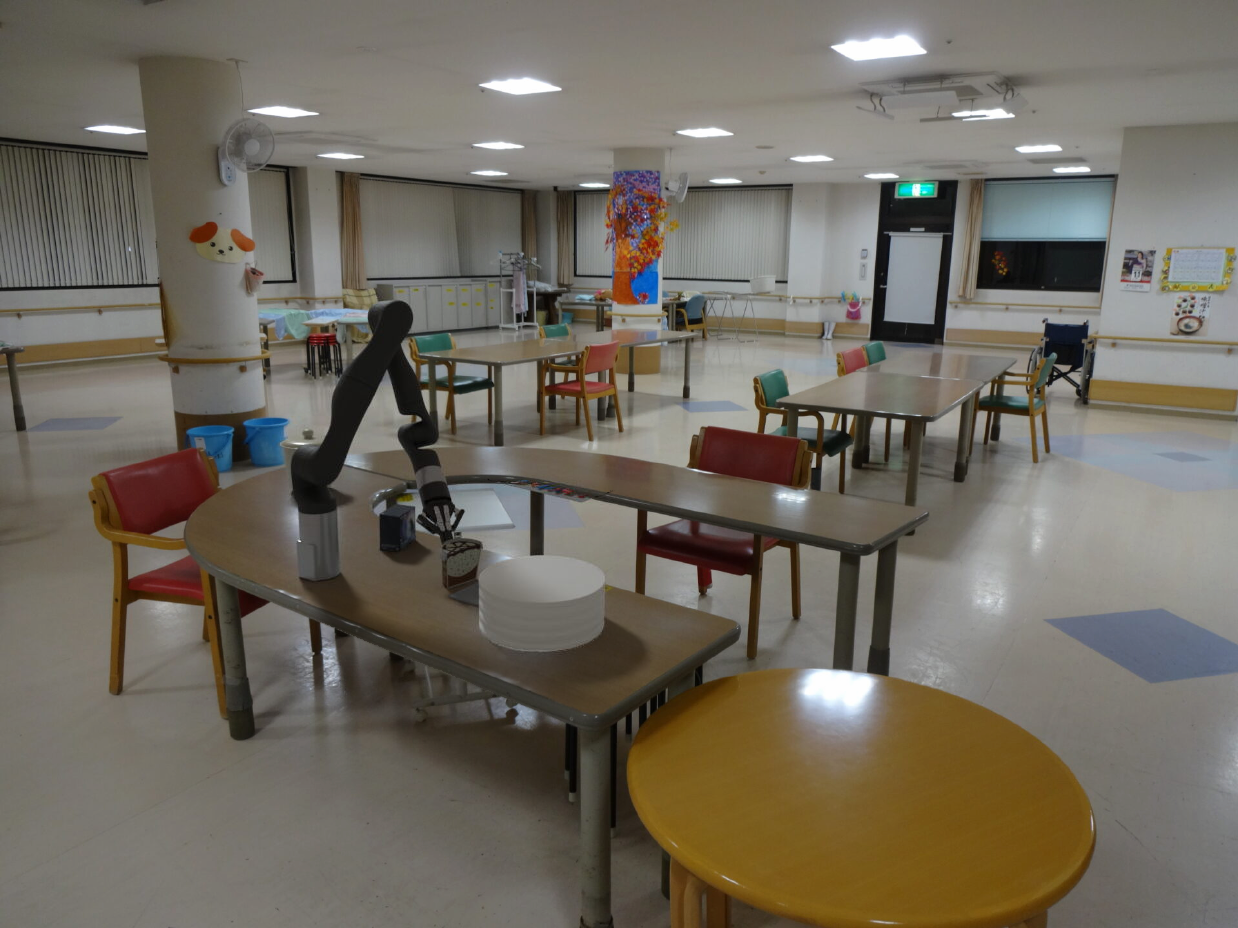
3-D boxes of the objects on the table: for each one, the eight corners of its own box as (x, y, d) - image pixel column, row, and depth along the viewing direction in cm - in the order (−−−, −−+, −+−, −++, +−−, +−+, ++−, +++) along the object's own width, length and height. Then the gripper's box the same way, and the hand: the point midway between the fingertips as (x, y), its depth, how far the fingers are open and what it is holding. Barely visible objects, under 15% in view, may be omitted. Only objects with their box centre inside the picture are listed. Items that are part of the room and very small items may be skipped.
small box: (400, 552, 235) (399, 516, 232) (378, 550, 236) (377, 513, 233) (417, 540, 245) (416, 505, 242) (396, 538, 246) (394, 503, 244)
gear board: (614, 485, 301) (581, 497, 286) (614, 492, 302) (581, 504, 286) (517, 464, 326) (482, 473, 311) (517, 470, 327) (482, 480, 311)
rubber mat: (482, 607, 201) (482, 605, 201) (449, 597, 206) (449, 595, 206) (528, 583, 216) (528, 581, 216) (496, 575, 221) (496, 572, 221)
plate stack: (542, 590, 213) (542, 546, 210) (629, 624, 195) (631, 577, 192) (453, 625, 192) (452, 577, 189) (541, 666, 174) (542, 614, 171)
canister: (348, 484, 298) (345, 425, 293) (323, 499, 281) (320, 436, 275) (299, 481, 300) (296, 422, 295) (272, 495, 283) (267, 432, 278)
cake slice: (464, 568, 223) (467, 533, 220) (480, 577, 219) (483, 541, 216) (426, 581, 214) (428, 544, 210) (442, 590, 210) (445, 553, 207)
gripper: (410, 482, 217) (426, 543, 210) (460, 477, 224) (477, 535, 216) (404, 497, 223) (420, 556, 216) (453, 491, 229) (470, 549, 222)
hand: (449, 546), depth 216 cm, fingers closed
